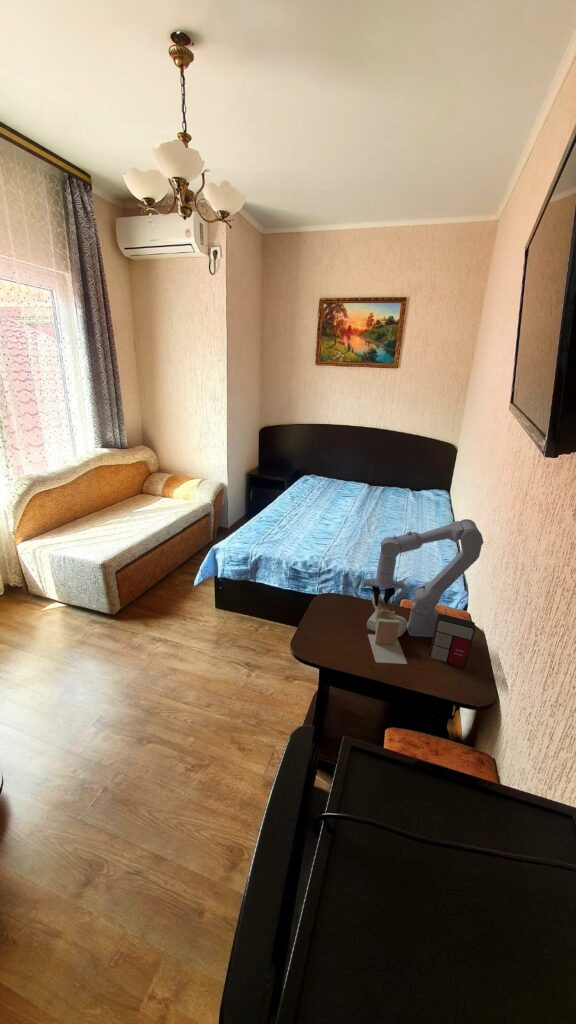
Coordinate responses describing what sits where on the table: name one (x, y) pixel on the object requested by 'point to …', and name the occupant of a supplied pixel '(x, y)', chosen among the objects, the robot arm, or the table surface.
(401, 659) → the mat
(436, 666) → the table surface
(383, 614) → the tan wooden slat
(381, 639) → the tile
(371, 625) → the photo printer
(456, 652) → the grey red panelled box
